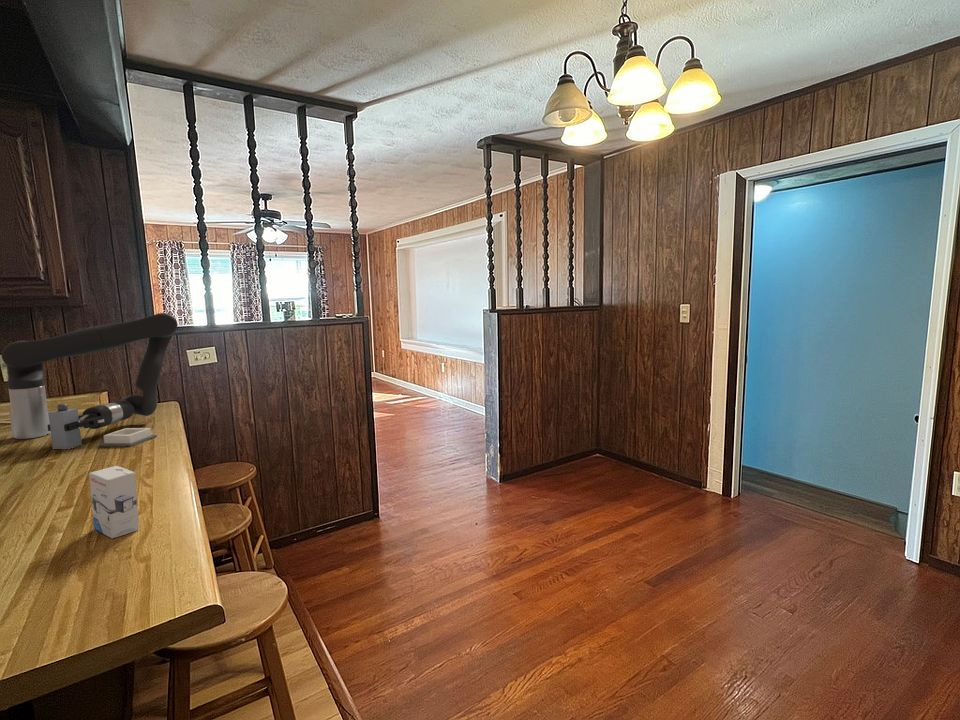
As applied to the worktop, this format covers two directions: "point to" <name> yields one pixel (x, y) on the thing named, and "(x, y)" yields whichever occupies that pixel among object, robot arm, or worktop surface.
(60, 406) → the grey-blue square bottle
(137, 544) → the worktop surface
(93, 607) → the worktop surface
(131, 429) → the socket block
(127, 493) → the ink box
